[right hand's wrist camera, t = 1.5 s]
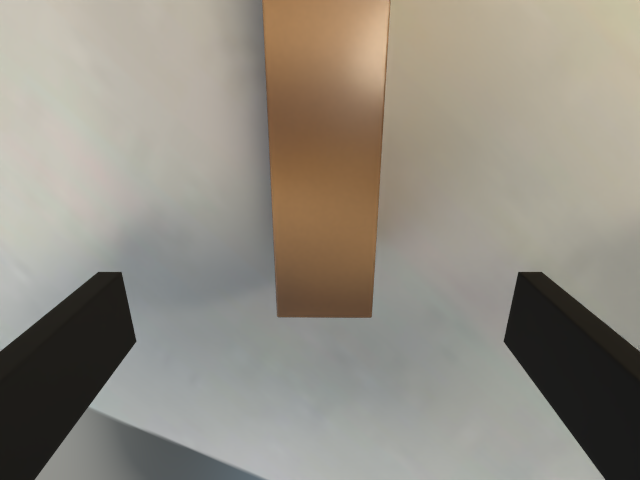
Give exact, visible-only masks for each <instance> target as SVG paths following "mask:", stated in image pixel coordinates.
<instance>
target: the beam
mask: <svg viewBox="0 0 640 480" xmlns="http://www.w3.org/2000/svg"><path fill="white" fill-rule="evenodd" d="M262 5H263V27H264V48H265V69H266V91H267V112H268V133H269V154H270V176H271V197H272V218H273V239H274V261H275V282H276V303H277V317H331V318H371V317H372V304H373V287H374V270H375V253H376V236H377V219H378V202H379V185H380V168H381V151H382V134H383V117H384V100H385V83H386V66H387V49H388V32H389V15H390V0H262Z"/></svg>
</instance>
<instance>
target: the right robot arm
mask: <svg viewBox="0 0 640 480" xmlns="http://www.w3.org/2000/svg"><path fill="white" fill-rule="evenodd" d="M135 343H136V338H135V333H134V328H133V324H132V319H131V314H130V309H129V305H128V300H127V295H126V291H125V286H124V281H123V277H122V272H98V273H97V274H95V275H94V276H93V277H92V278H90V279H89V280H88V281H87V282H85V283H84V284H83V285H82V286H81V287H79V288H78V289H77V290H76V291H74V292H73V293H72V294H71V295H69V296H68V297H67V298H66V299H65V300H63V301H62V302H61V303H60V304H58V305H57V306H56V307H55V308H53V309H52V310H51V311H50V312H48V313H47V314H46V315H45V316H44V317H42V318H41V319H40V320H39V321H37V322H36V323H35V324H34V325H32V326H31V327H30V328H29V329H28V330H26V331H25V332H24V333H23V334H21V335H20V336H19V337H18V338H16V339H15V340H14V341H13V342H11V343H10V344H9V345H8V346H7V347H5V348H4V349H3V350H2V351H0V480H35V478H36V477H37V476H38V474H39V473H40V472H41V470H42V469H43V467H44V466H45V465H46V463H47V462H48V461H49V459H50V458H51V457H52V455H53V454H54V453H55V451H56V450H57V448H58V447H59V446H60V444H61V443H62V442H63V440H64V439H65V438H66V436H67V435H68V434H69V432H70V431H71V429H72V428H73V427H74V425H75V424H76V423H77V421H78V420H79V419H80V417H81V416H82V415H83V413H84V412H85V410H86V409H87V408H88V406H89V405H90V404H91V402H92V401H93V400H94V398H95V397H96V396H97V394H98V393H99V391H100V390H101V389H102V387H103V386H104V385H105V383H106V382H107V381H108V379H109V378H110V377H111V375H112V374H113V372H114V371H115V370H116V368H117V367H118V366H119V364H120V363H121V362H122V360H123V359H124V358H125V356H126V355H127V353H128V352H129V351H130V349H131V348H132V347H133V345H134V344H135ZM504 343H505V344H506V345H507V347H508V348H509V349H510V351H511V352H512V353H513V355H514V356H515V358H516V359H517V360H518V362H519V363H520V364H521V366H522V367H523V368H524V370H525V371H526V372H527V374H528V375H529V377H530V378H531V379H532V381H533V382H534V383H535V385H536V386H537V387H538V389H539V390H540V391H541V393H542V394H543V396H544V397H545V398H546V400H547V401H548V402H549V404H550V405H551V406H552V408H553V409H554V410H555V412H556V413H557V415H558V416H559V417H560V419H561V420H562V421H563V423H564V424H565V425H566V427H567V428H568V429H569V431H570V432H571V434H572V435H573V436H574V438H575V439H576V440H577V442H578V443H579V444H580V446H581V447H582V448H583V450H584V451H585V453H586V454H587V455H588V457H589V458H590V459H591V461H592V462H593V463H594V465H595V466H596V467H597V469H598V470H599V472H600V473H601V474H602V476H603V477H604V478H605V480H640V351H638V350H637V349H636V348H635V347H633V346H632V345H631V344H630V343H629V342H627V341H626V340H625V339H624V338H622V337H621V336H620V335H619V334H617V333H616V332H615V331H614V330H612V329H611V328H610V327H609V326H608V325H606V324H605V323H604V322H603V321H601V320H600V319H599V318H598V317H596V316H595V315H594V314H593V313H592V312H590V311H589V310H588V309H587V308H585V307H584V306H583V305H582V304H580V303H579V302H578V301H577V300H575V299H574V298H573V297H572V296H571V295H569V294H568V293H567V292H566V291H564V290H563V289H562V288H561V287H559V286H558V285H557V284H556V283H555V282H553V281H552V280H551V279H550V278H548V277H547V276H546V275H545V274H543V273H542V272H518V277H517V281H516V286H515V291H514V295H513V300H512V305H511V309H510V314H509V319H508V323H507V328H506V333H505V338H504Z"/></svg>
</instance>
